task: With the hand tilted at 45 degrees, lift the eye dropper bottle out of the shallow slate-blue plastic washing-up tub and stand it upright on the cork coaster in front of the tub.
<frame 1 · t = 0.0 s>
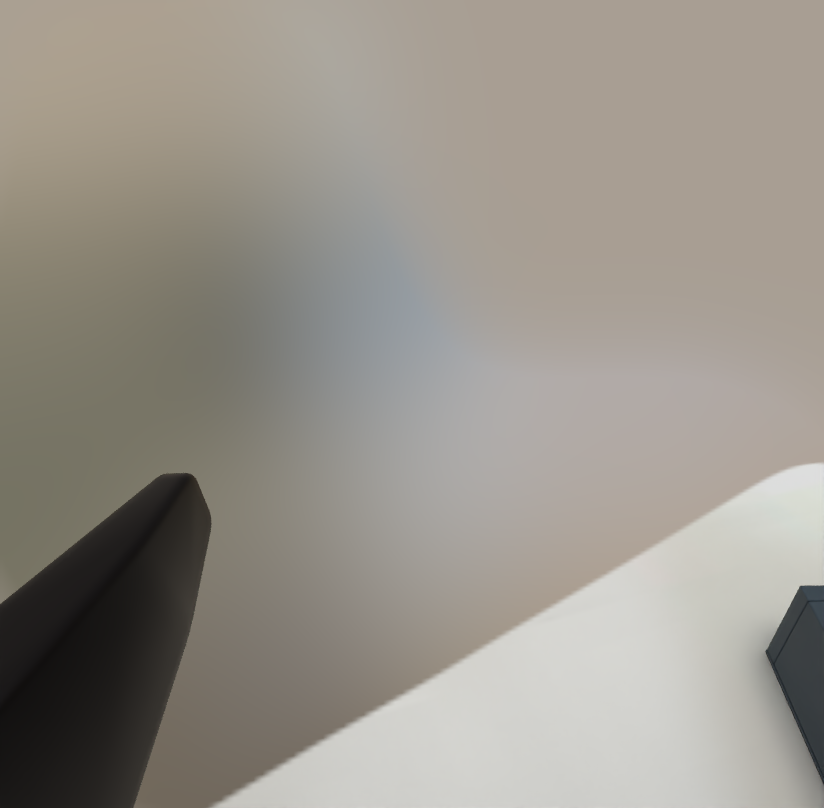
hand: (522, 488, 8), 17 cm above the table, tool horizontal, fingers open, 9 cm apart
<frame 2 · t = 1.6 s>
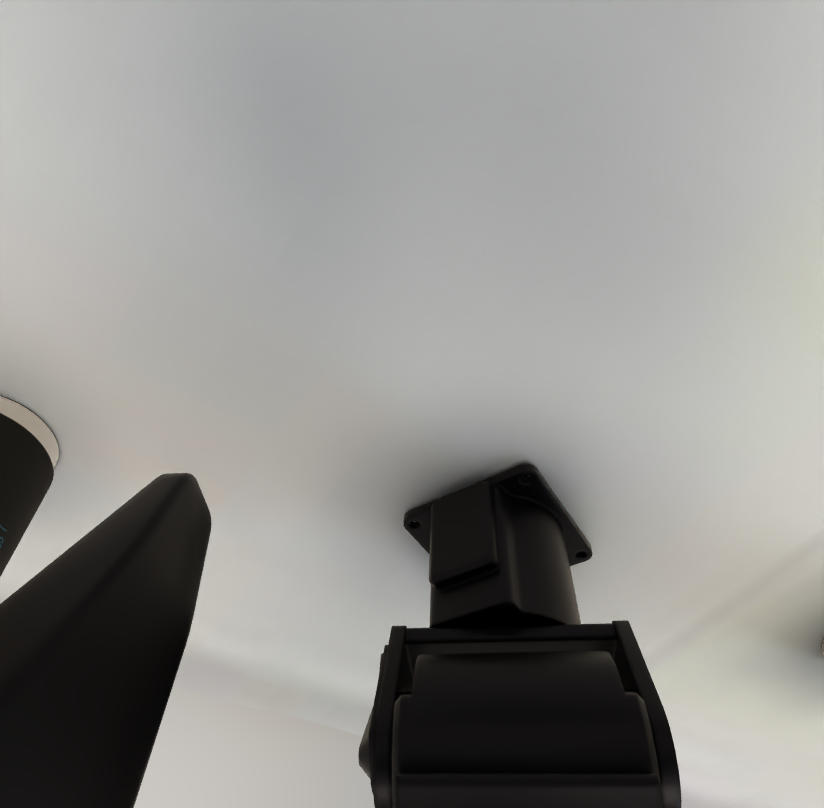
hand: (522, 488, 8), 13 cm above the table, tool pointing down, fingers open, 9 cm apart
dixie cup: (3, 434, 26), on the table
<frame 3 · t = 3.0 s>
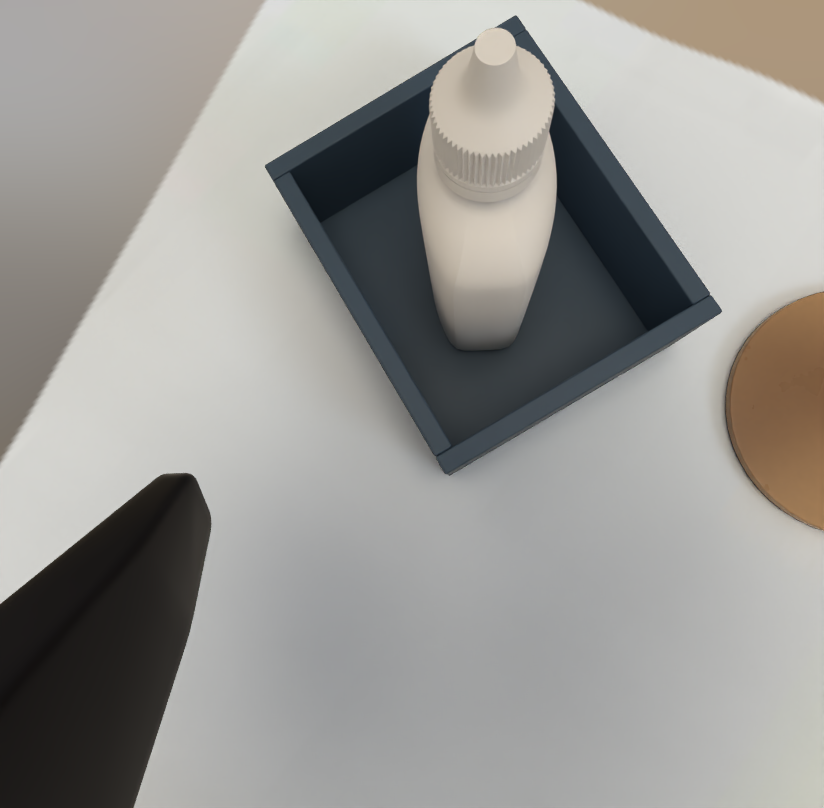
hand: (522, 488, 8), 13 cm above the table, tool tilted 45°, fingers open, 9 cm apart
tub: (479, 279, 22), on the table
eye dropper bottle: (479, 279, 22), resting on tub
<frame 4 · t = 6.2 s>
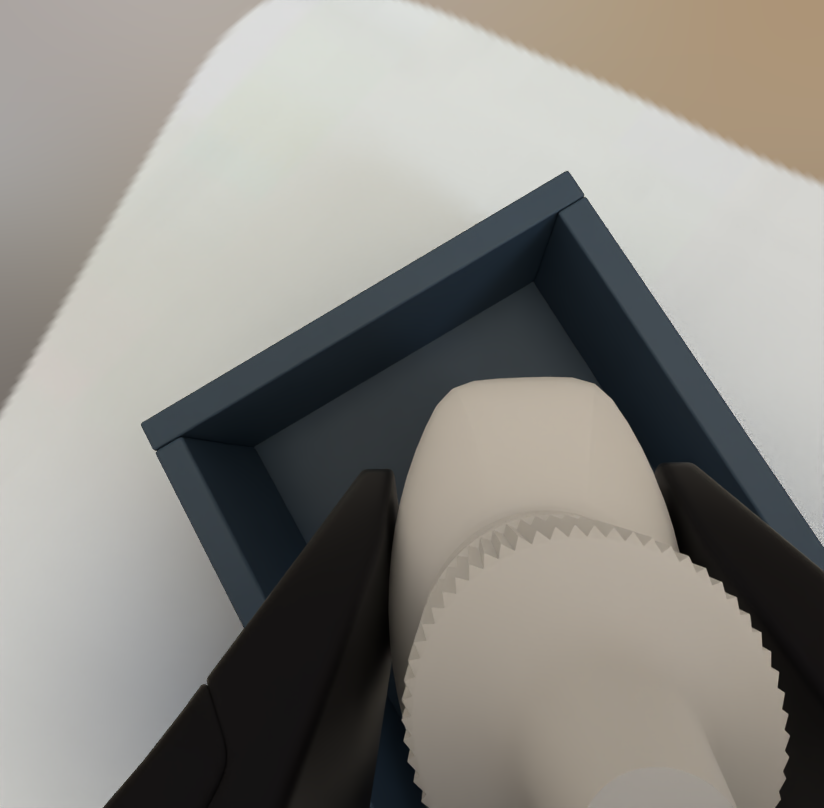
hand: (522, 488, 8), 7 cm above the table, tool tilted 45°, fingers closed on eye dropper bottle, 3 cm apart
tub: (498, 542, 14), on the table
eye dropper bottle: (498, 542, 14), resting on tub, touching gripper
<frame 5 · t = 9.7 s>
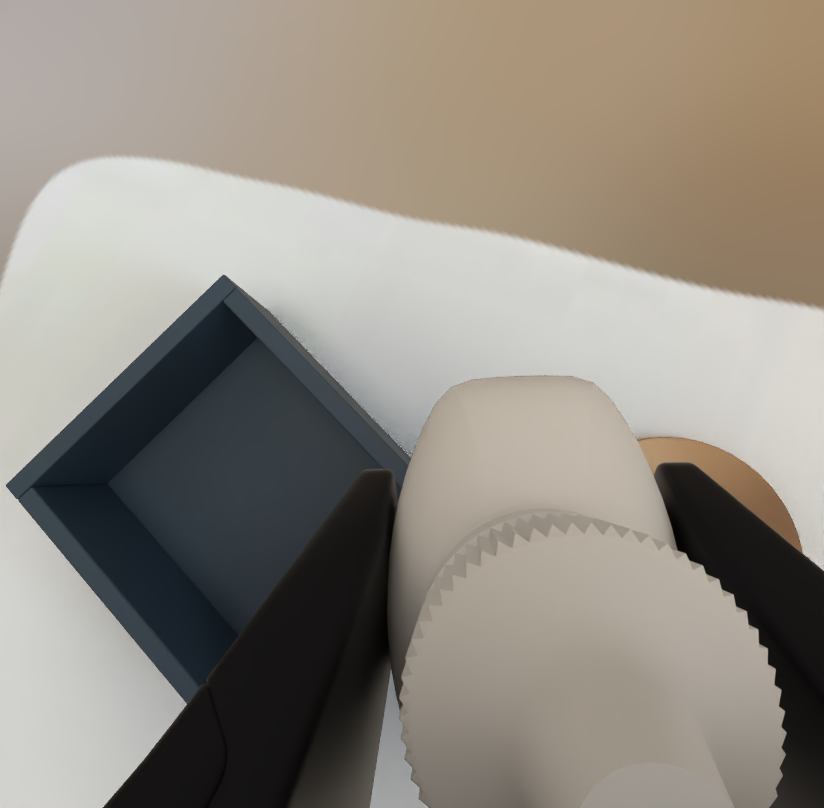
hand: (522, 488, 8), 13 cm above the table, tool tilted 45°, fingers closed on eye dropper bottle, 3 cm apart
tub: (278, 506, 22), on the table
coaster: (666, 562, 20), on the table
eye dropper bottle: (497, 541, 14), point 7 cm above the table, touching gripper
when the fingers open (7 cm above the table, at t = 13.5 s): eye dropper bottle stays where it is, resting on coaster.
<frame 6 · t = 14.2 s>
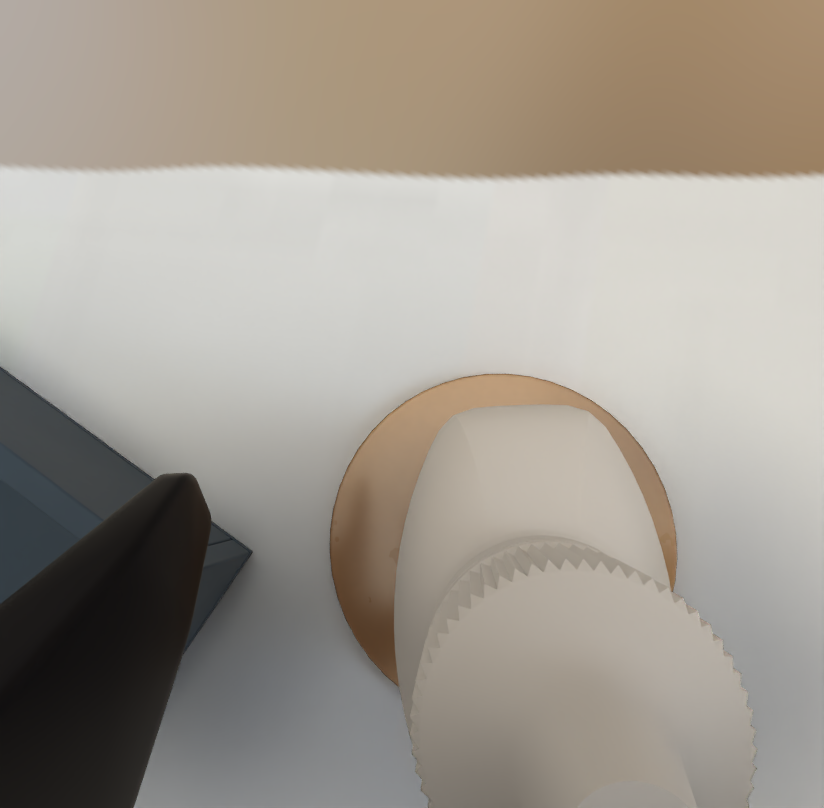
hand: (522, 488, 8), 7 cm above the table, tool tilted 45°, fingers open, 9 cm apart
coaster: (498, 541, 15), on the table
eye dropper bottle: (497, 552, 15), resting on coaster
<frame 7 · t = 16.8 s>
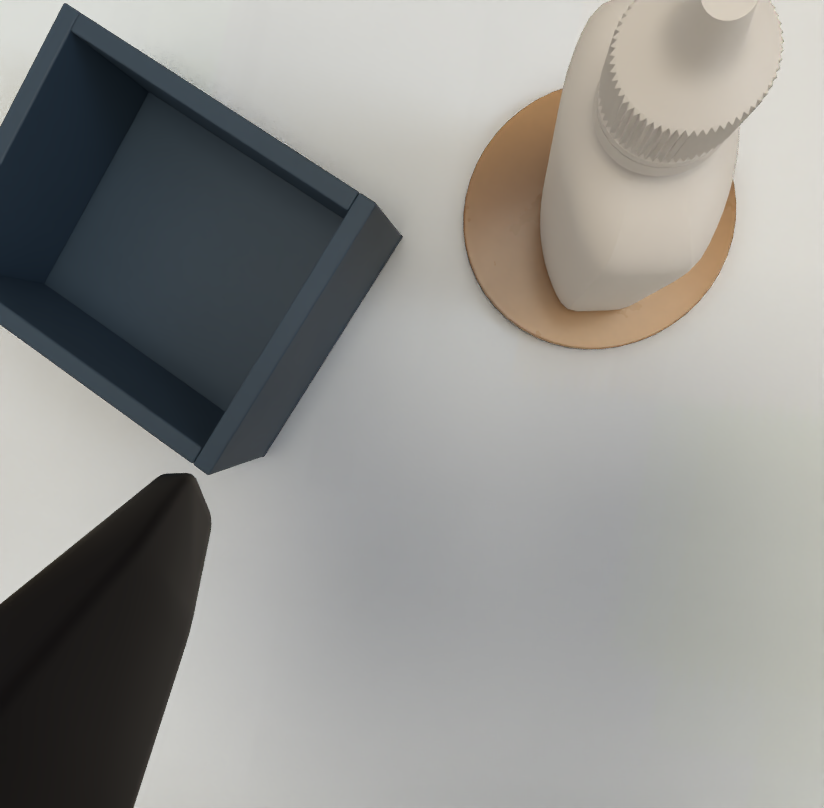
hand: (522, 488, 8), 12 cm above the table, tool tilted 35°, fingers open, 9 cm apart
tub: (205, 264, 22), on the table
coaster: (593, 219, 20), on the table
eye dropper bottle: (593, 225, 20), resting on coaster
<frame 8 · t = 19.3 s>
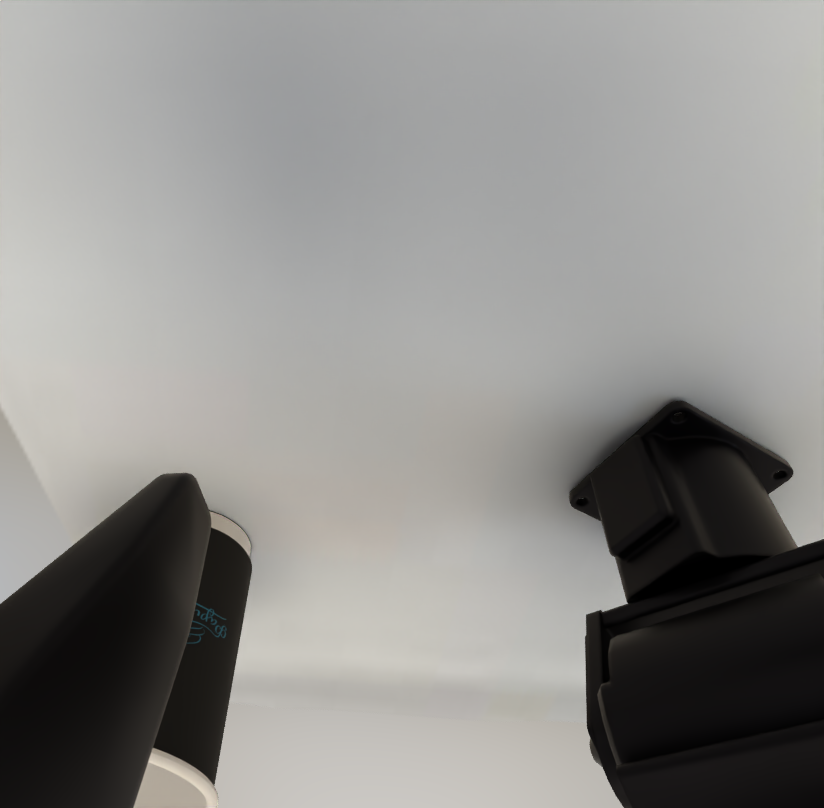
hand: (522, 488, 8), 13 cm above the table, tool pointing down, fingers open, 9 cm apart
dixie cup: (203, 538, 30), on the table
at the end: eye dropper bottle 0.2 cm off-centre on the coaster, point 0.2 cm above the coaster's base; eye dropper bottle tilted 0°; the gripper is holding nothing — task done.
